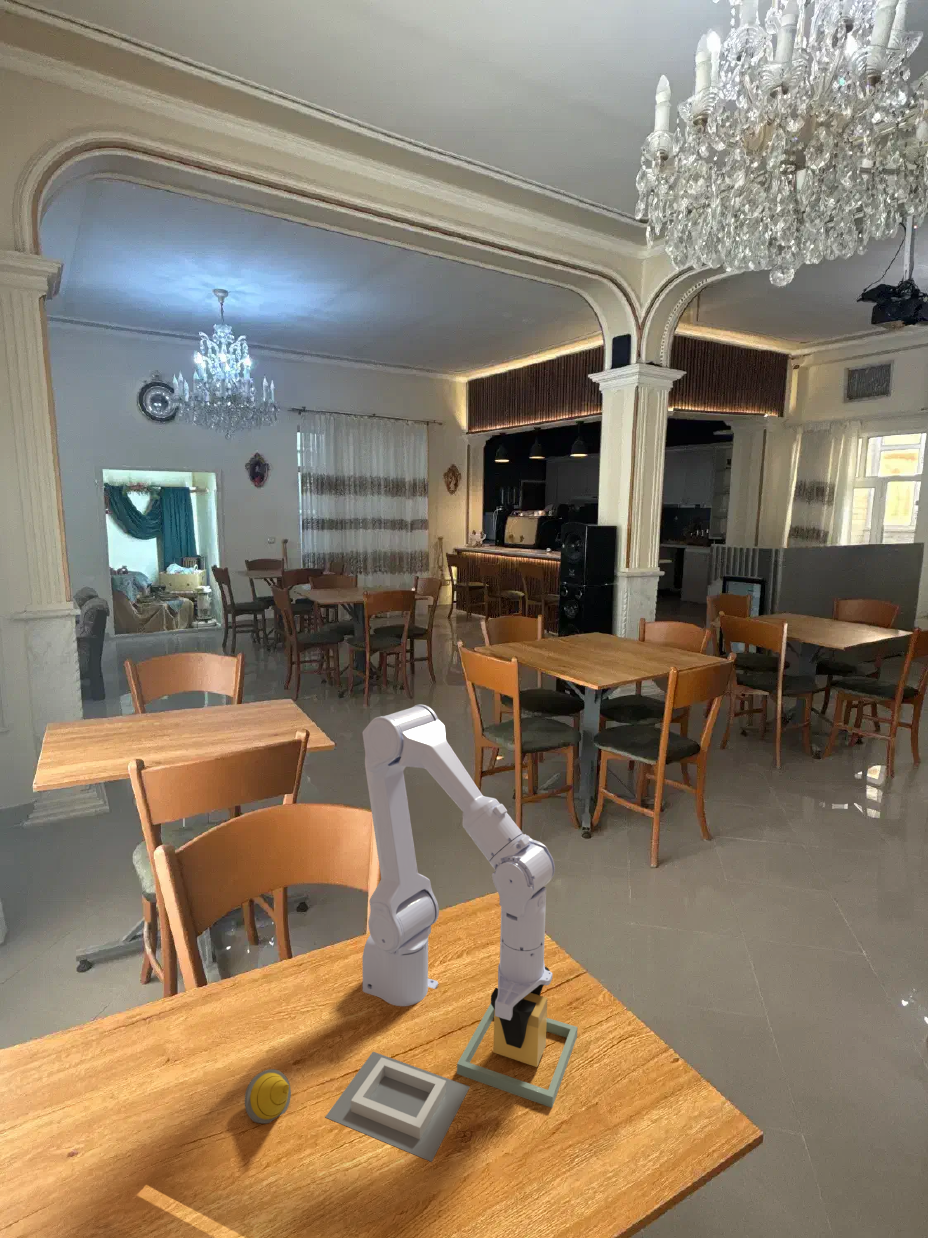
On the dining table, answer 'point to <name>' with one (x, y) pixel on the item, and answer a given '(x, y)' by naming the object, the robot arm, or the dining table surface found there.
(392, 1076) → the board
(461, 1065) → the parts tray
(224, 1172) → the dining table surface
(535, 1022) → the yellow rectangular block
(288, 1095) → the yellow cone
